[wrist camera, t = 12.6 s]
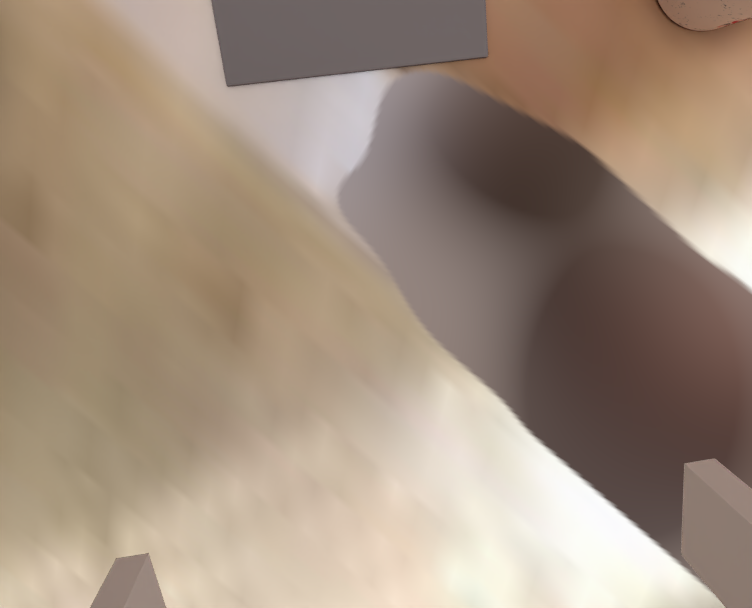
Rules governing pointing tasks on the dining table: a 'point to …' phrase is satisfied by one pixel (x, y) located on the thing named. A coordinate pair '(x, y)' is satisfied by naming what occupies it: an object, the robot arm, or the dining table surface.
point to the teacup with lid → (706, 12)
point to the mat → (343, 36)
